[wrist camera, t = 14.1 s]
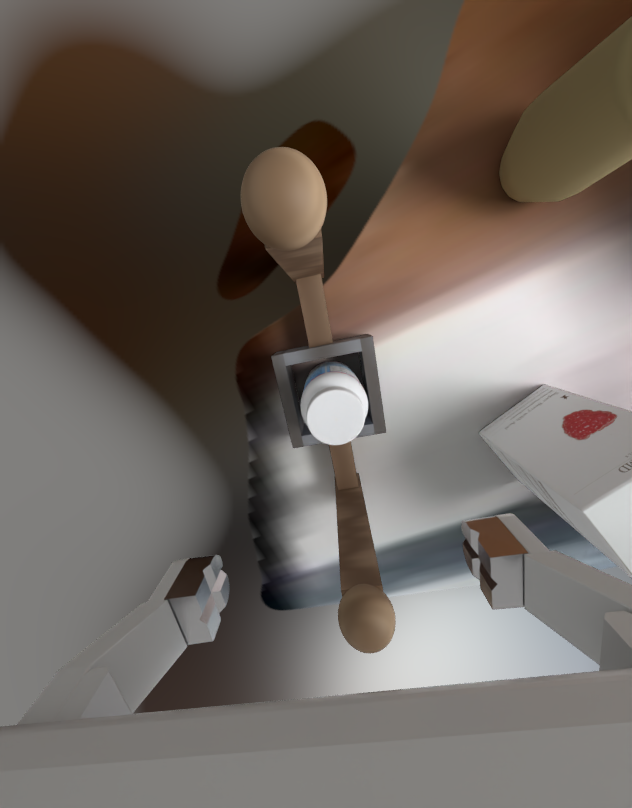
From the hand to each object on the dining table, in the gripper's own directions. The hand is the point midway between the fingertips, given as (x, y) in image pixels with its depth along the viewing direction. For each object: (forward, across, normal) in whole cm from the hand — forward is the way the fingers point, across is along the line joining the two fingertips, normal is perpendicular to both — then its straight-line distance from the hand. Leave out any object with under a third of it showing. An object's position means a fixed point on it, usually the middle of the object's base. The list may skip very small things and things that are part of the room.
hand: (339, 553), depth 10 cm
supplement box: (+25, -22, +10) cm, 35 cm away
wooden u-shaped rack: (+25, 0, 0) cm, 25 cm away
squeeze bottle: (+25, -22, -17) cm, 37 cm away
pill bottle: (+25, 0, 0) cm, 25 cm away
